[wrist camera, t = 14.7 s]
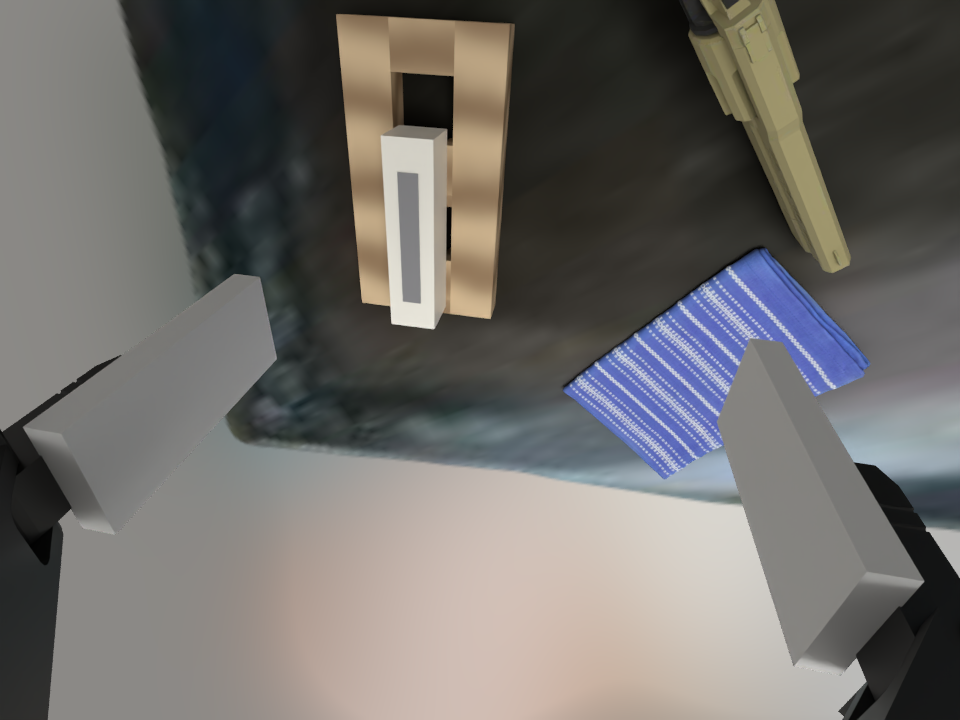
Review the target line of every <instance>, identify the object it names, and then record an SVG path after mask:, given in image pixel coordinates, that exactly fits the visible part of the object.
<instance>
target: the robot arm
mask: <svg viewBox="0 0 960 720" xmlns="http://www.w3.org/2000/svg"><path fill="white" fill-rule="evenodd" d="M276 359H277V357H276V352H275V348H274V343H273V338H272V333H271V328H270V323H269V319H268V314H267V309H266V304H265V299H264V295H263V290H262V285H261V280H260V277H255V276H247V275H238V274H234V275H232V276H231V277H230V278H228V279H227V280H226V281H224V282H223V283H221V284H220V285H219V286H217V287H216V288H214V289H213V290H212V291H210V292H209V293H208V294H206V295H205V296H203V297H202V298H201V299H199V300H198V301H196V302H195V303H194V304H192V305H191V306H190V307H188V308H187V309H185V310H184V311H183V312H181V313H180V314H178V315H177V316H176V317H174V318H173V319H172V320H170V321H169V322H168V323H166V324H165V325H163V326H162V327H161V328H159V329H158V330H156V331H155V332H154V333H152V334H151V335H150V336H148V337H147V338H145V339H144V340H143V341H141V342H140V343H138V344H137V345H136V346H134V347H133V348H131V349H130V350H129V351H128V352H126V353H125V354H123V355H120V356H117V357H116V358H113V359H111V360H108V361H106V362H104V363H101V364H100V365H97V366H95V367H94V368H92V369H91V370H89V371H88V372H87V373H86V374H84V375H82V376H81V377H79V378H78V379H77V382H76V383H75V382H72V383H71V384H70V385H68V386H67V387H65V388H64V389H62V390H61V393H60V394H55V395H54V396H53V397H51V398H50V399H48V400H47V401H45V402H44V403H43V404H41V405H40V406H38V407H37V408H36V409H34V410H33V411H31V412H30V413H29V414H27V415H26V416H24V417H23V418H21V419H20V420H19V421H18V422H16V423H14V424H13V425H11V426H10V427H9V428H7V429H6V430H4V431H3V432H2V431H1V430H0V720H48V708H49V697H50V684H51V673H52V662H53V650H54V638H55V627H56V615H57V602H58V590H59V579H60V568H61V567H60V566H61V555H62V544H63V532H62V528H61V526H60V524H59V523H58V521H59V520H60V519H61V518H62V517H63V516H64V515H65V514H66V513H67V512H68V511H69V510H70V509H71V510H72V511H73V513H74V515H75V516H76V518H77V520H78V522H79V523H80V525H81V526H82V528H84V529H89V530H94V531H99V532H105V533H109V534H114V535H116V534H117V533H118V532H119V531H120V530H121V529H122V527H123V526H124V525H125V524H126V523H127V522H128V521H129V520H130V519H131V518H132V517H133V515H134V514H135V513H136V512H137V511H138V510H139V509H140V508H141V507H142V506H143V505H144V503H145V502H146V501H147V500H148V499H149V498H150V497H151V496H152V495H153V494H154V493H155V491H156V490H157V489H158V488H159V487H160V486H161V485H162V484H163V483H164V482H165V480H166V479H167V478H168V477H169V476H170V475H171V474H172V473H173V472H174V471H175V470H176V469H177V467H178V466H179V465H180V464H181V463H182V462H183V461H184V460H185V459H186V458H187V456H188V455H189V454H190V453H191V452H192V451H193V450H194V449H195V448H196V447H197V446H198V444H199V443H200V442H201V441H202V440H203V439H204V438H205V437H206V436H207V435H208V434H209V432H210V431H211V430H212V429H213V428H214V427H215V426H216V425H217V424H218V422H220V420H221V419H222V418H223V417H224V416H225V415H226V414H227V413H228V412H229V411H230V410H231V408H232V407H233V406H234V405H235V404H236V403H237V402H238V401H239V400H240V399H241V398H242V396H243V395H244V394H245V393H246V392H247V391H248V390H249V389H250V388H251V387H252V385H253V384H254V383H255V382H256V381H257V380H258V379H259V378H260V377H261V376H262V375H263V373H264V372H265V371H266V370H267V369H268V368H269V367H270V366H271V365H272V364H273V363H274V361H275V360H276ZM717 424H718V428H719V431H720V434H721V437H722V440H723V443H724V447H725V450H726V453H727V456H728V459H729V463H730V466H731V469H732V472H733V475H734V478H735V482H736V485H737V488H738V491H739V494H740V497H741V501H742V504H743V507H744V510H745V513H746V517H747V519H748V523H749V526H750V529H751V532H752V535H753V539H754V542H755V545H756V548H757V551H758V555H759V558H760V561H761V564H762V567H763V570H764V574H765V577H766V580H767V583H768V586H769V589H770V593H771V596H772V599H773V602H774V605H775V609H776V612H777V615H778V618H779V621H780V625H781V628H782V631H783V634H784V637H785V641H786V643H787V647H788V650H789V653H790V656H791V659H792V663H793V666H794V667H799V668H804V669H809V670H814V671H819V672H824V673H829V674H835V675H842V673H843V672H844V671H845V670H846V669H847V668H848V667H849V666H850V664H851V663H852V662H853V661H854V660H855V659H856V658H857V659H858V662H859V664H860V666H861V669H862V671H863V673H864V676H865V678H866V681H867V682H866V683H865V684H864V685H863V686H862V687H861V688H860V689H859V690H858V691H857V693H855V695H854V696H853V697H852V698H851V699H850V700H849V701H848V702H847V703H846V704H845V705H844V706H843V707H842V708H841V709H840V710H839V711H838V712H840V713H841V714H842V715H843V716H844V718H843V720H960V578H959V577H958V575H957V573H956V572H955V570H954V569H953V567H952V566H951V564H950V563H949V561H948V560H947V558H946V557H945V555H944V554H943V552H942V551H941V549H940V548H939V546H938V545H937V543H936V542H935V540H934V539H933V537H932V536H931V534H930V533H929V532H926V526H925V525H924V523H923V522H922V520H921V519H920V517H919V516H918V514H917V513H914V512H913V510H914V508H913V507H912V505H911V504H910V502H909V501H908V499H907V498H906V496H905V495H904V493H903V492H902V490H901V489H900V487H899V486H898V485H897V484H896V483H895V482H893V481H892V480H891V479H890V478H889V477H888V476H887V475H885V474H884V473H883V472H882V471H881V470H880V469H879V468H877V467H876V466H874V465H868V464H861V463H854V462H853V460H852V459H851V457H850V455H849V454H848V452H847V450H846V448H845V447H844V445H843V443H842V442H841V440H840V438H839V437H838V435H837V433H836V432H835V430H834V428H833V427H832V425H831V423H830V422H829V420H828V418H827V416H826V415H825V413H824V411H823V410H822V408H821V406H820V405H819V403H818V401H817V400H816V398H815V396H814V395H813V393H812V391H811V390H810V388H809V386H808V384H807V383H806V381H805V379H804V378H803V376H802V374H801V373H800V371H799V369H798V368H797V366H796V364H795V363H794V361H793V359H792V358H791V356H790V354H789V353H788V351H787V349H786V347H785V346H784V344H783V342H777V341H769V340H761V339H753V338H750V340H749V342H748V345H747V347H746V350H745V352H744V355H743V357H742V360H741V362H740V365H739V367H738V370H737V372H736V375H735V377H734V380H733V382H732V385H731V388H730V390H729V393H728V395H727V398H726V400H725V403H724V405H723V408H722V410H721V413H720V415H719V418H718V420H717Z"/></svg>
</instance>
